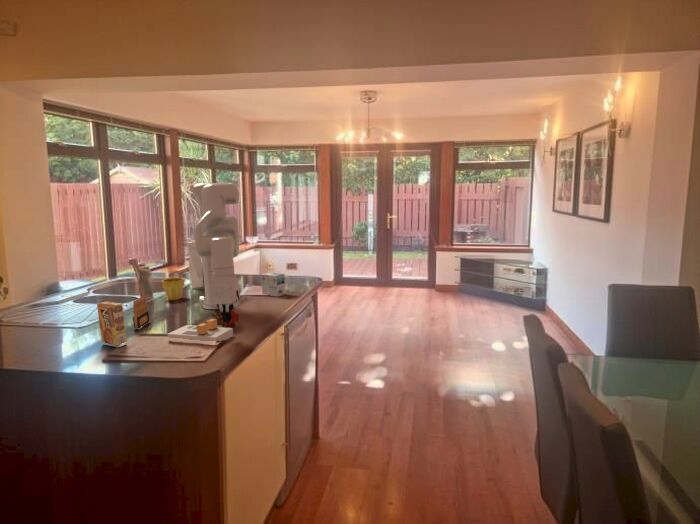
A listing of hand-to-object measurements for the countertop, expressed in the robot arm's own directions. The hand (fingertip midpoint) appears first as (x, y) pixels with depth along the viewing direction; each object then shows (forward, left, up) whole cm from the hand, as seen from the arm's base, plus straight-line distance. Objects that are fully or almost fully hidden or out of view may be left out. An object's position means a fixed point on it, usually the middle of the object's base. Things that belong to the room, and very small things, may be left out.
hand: (227, 321), depth 173 cm
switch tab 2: (-7, 0, -3) cm, 7 cm away
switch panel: (-10, -3, -6) cm, 12 cm away
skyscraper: (-67, +76, -6) cm, 102 cm away
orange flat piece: (-44, +6, -7) cm, 45 cm away
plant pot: (-63, +51, -7) cm, 81 cm away
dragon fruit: (-8, +13, -7) cm, 17 cm away
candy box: (-37, -16, -7) cm, 40 cm away
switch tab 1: (-7, -6, -3) cm, 9 cm away
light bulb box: (-16, +68, -7) cm, 70 cm away
